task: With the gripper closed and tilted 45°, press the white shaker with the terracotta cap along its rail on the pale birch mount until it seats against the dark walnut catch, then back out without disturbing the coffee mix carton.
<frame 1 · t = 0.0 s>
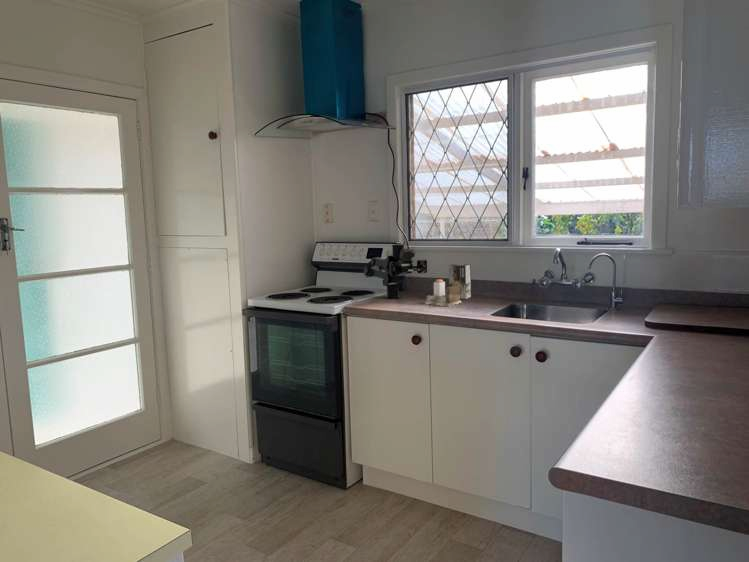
hand: (416, 269, 263), 17 cm above the countertop, tool horizontal, fingers open, 9 cm apart
white shaker: (439, 290, 270), point 6 cm above the countertop, slide at 4.0 cm
mount: (445, 303, 268), on the countertop
coffee box: (460, 298, 284), on the countertop
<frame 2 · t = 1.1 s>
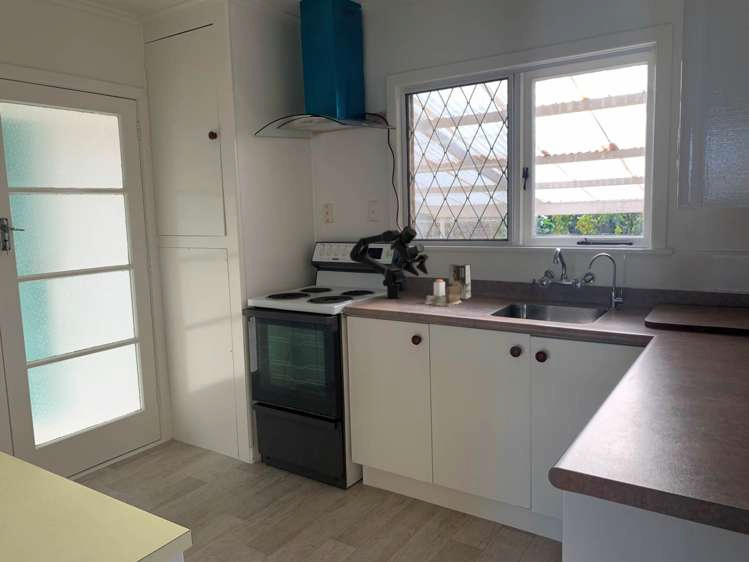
hand: (422, 274, 275), 13 cm above the countertop, tool tilted 45°, fingers open, 7 cm apart
nothing on the countertop moved.
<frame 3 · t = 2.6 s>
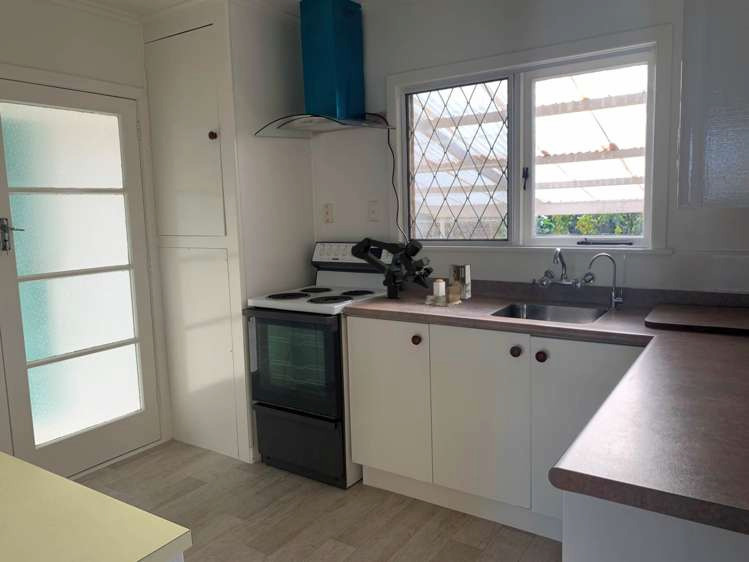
hand: (428, 287, 274), 7 cm above the countertop, tool tilted 45°, fingers closed
nothing on the countertop moved.
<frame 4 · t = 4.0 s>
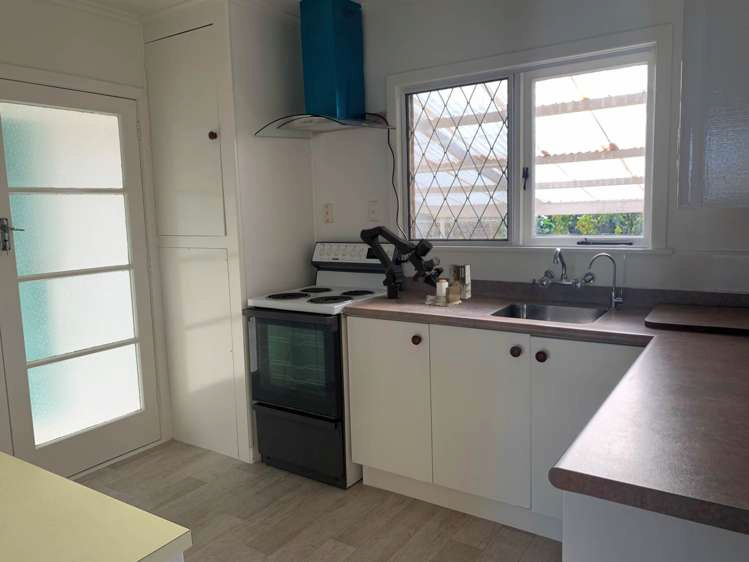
hand: (439, 288, 270), 7 cm above the countertop, tool tilted 45°, fingers closed, pressing on white shaker
white shaker: (442, 290, 268), point 6 cm above the countertop, slide at 2.3 cm, touching gripper
everything else where it was.
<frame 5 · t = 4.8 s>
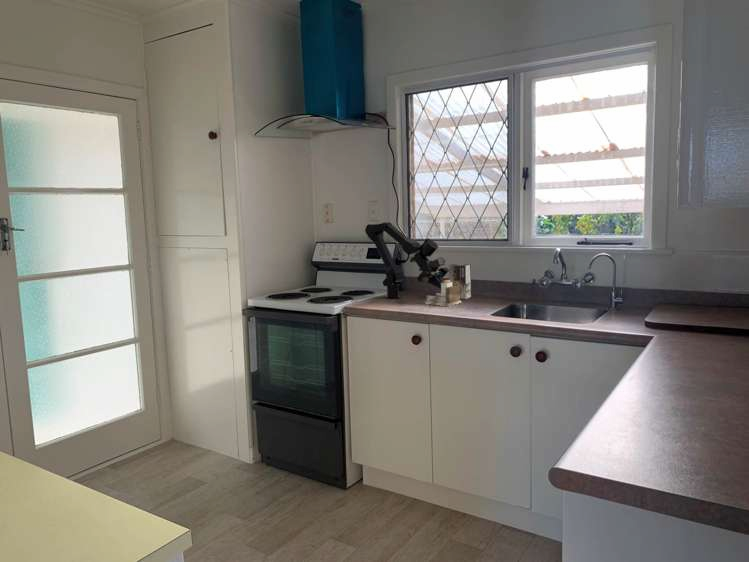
hand: (443, 288, 268), 7 cm above the countertop, tool tilted 45°, fingers closed, pressing on white shaker
white shaker: (446, 290, 267), point 6 cm above the countertop, slide at -0.1 cm, touching gripper, mount
everything else where it was.
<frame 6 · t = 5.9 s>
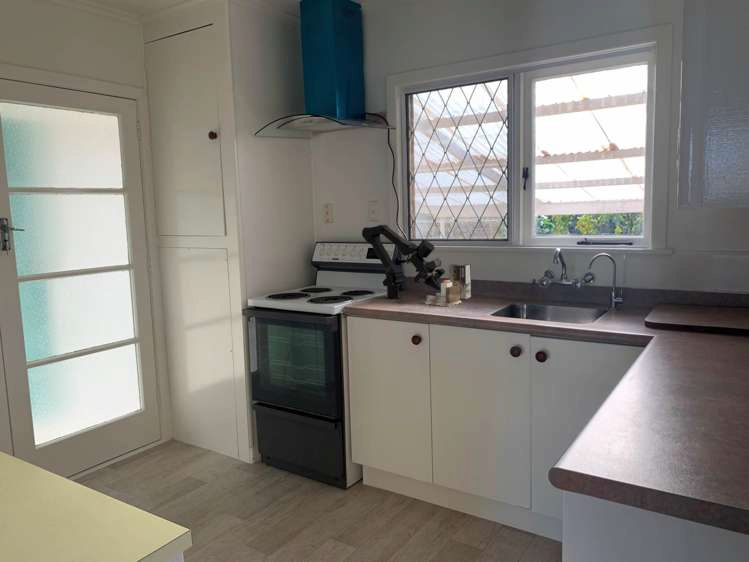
hand: (439, 289, 269), 6 cm above the countertop, tool tilted 45°, fingers closed
white shaker: (446, 290, 267), point 6 cm above the countertop, slide at -0.1 cm
everything else where it was.
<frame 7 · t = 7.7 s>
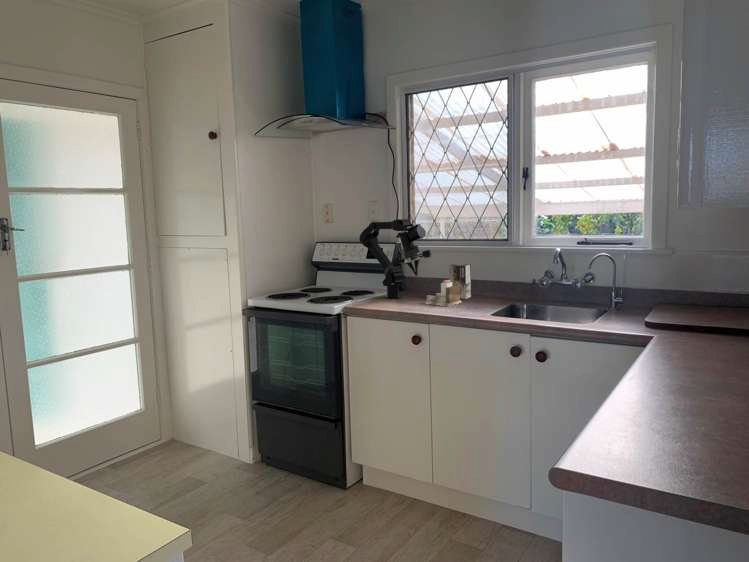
hand: (416, 275, 275), 12 cm above the countertop, tool tilted 20°, fingers closed
nothing on the countertop moved.
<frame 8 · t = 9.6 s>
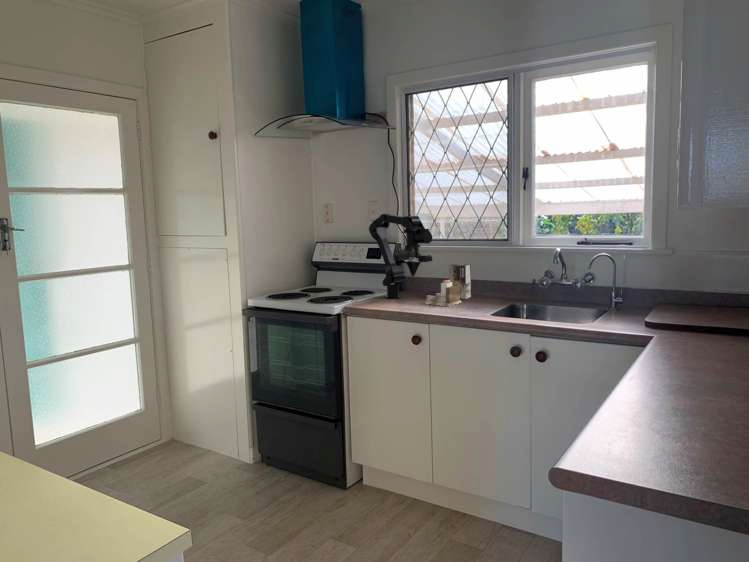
hand: (413, 276, 276), 12 cm above the countertop, tool pointing down, fingers closed
nothing on the countertop moved.
at the end: white shaker slide at -0.1 cm; coffee box moved 0.2 cm from its start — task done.
